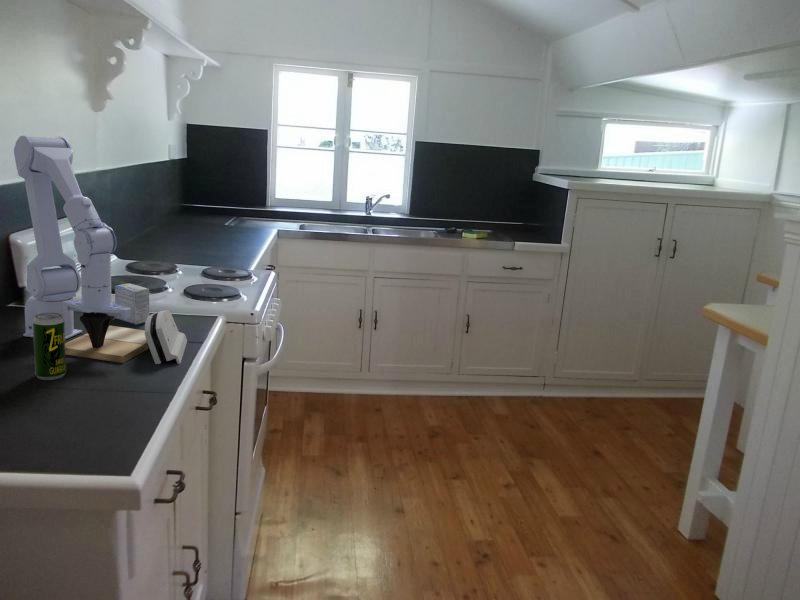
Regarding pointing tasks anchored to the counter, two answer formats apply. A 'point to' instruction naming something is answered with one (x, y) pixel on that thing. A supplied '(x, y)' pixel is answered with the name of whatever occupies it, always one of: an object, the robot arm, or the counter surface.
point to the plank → (103, 349)
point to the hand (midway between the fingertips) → (97, 346)
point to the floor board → (126, 335)
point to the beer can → (49, 346)
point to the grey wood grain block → (133, 302)
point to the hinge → (164, 337)
